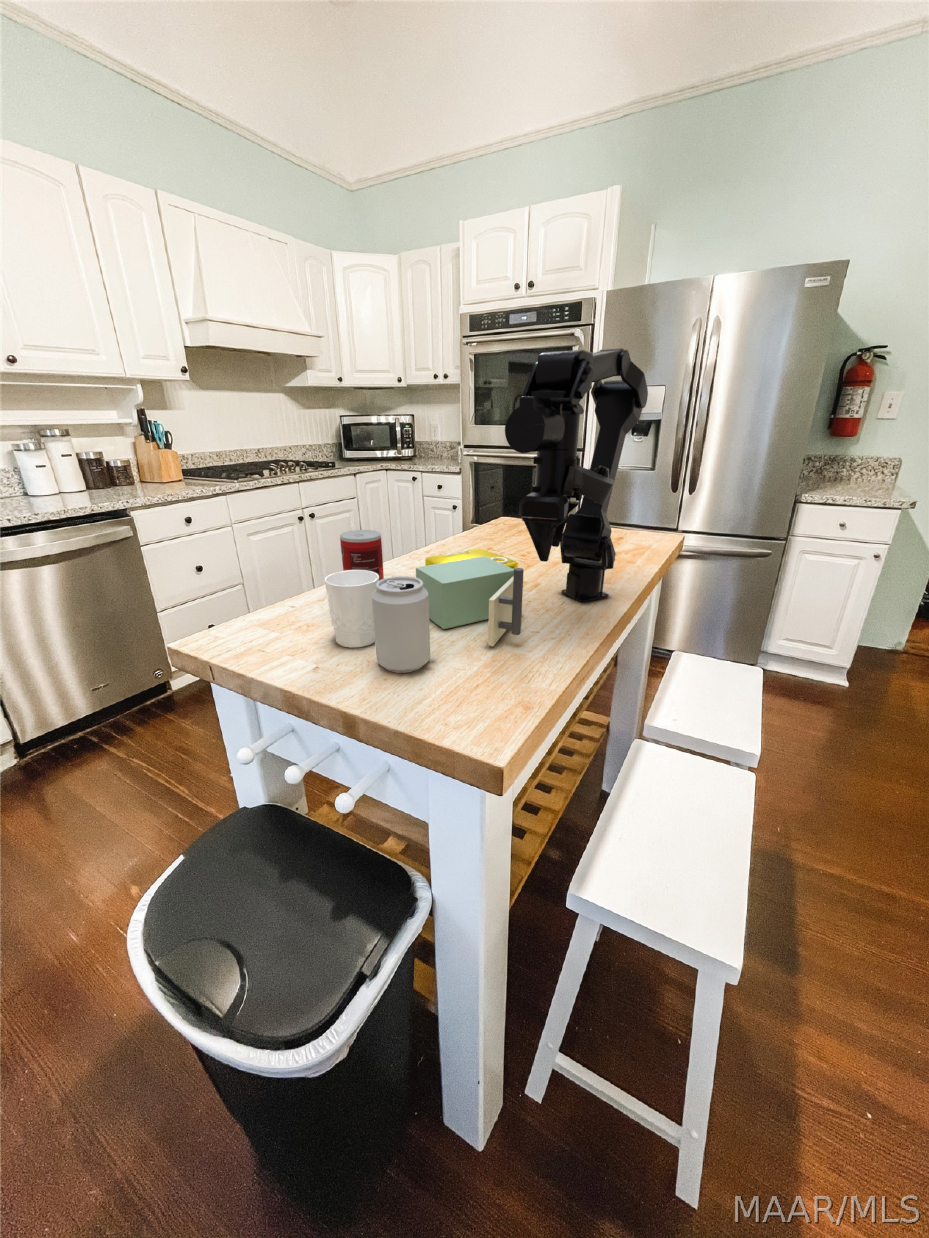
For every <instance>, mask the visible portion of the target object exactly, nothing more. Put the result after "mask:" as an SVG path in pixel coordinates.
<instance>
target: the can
mask: <svg viewBox="0 0 929 1238" xmlns="http://www.w3.org/2000/svg"><path fill="white" fill-rule="evenodd" d="M376 588H377V589H376V590H375V591H374V592H373V594H372V606H373V619H374V632H375V642H374V643H375V656H376V661H377V664H378V665H380V666H381V667H382V668H384V669H385V670H387V671H389V672H392V673H397V674H400V673H401V674H406V673H412V672H415V671H418V670H420V669H421V668H423V667H424V666H425V665H426V664H427V663H428V662H429V661H430V660H431V636H430V635H431V633H430V632H431V631H430V619H429V596H428V592H427V590H426V589H425V588H424V587H423V582H422V580H420V579H418V578H416V576H408V575H397V576H389V577H384V579H382V580H380V581H378V582H377V583H376Z"/></svg>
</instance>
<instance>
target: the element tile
mask: <svg viewBox="0 0 929 1238" xmlns="http://www.w3.org/2000/svg"><path fill="white" fill-rule="evenodd" d="M483 556H485V557H488V558H490V559H492V560H494V561H497V562H499V563H501V564H503V565H506V566H508V567H510V568H513V569H514V568H519V562H518V561H517V560H514V559H512V558H508V557H505V556H503V555H500V554H497V553H496V552H495V553H494V552H492V551H489V550H486V549H484V548H481V547H476V548H471V549H470V548H469V549H466V550H465V549H464V550H459V551H453V552H452V551H451V552H447V553H443V554H437V555H430V556H427V557H426V558H425V559H424V566H428V565H434V564H440V563H446V562H453V561H459V560H465V559H471V558H477V557H483Z"/></svg>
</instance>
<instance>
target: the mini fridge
mask: <svg viewBox="0 0 929 1238" xmlns="http://www.w3.org/2000/svg"><path fill="white" fill-rule="evenodd" d="M513 576H514V569H513V568H510V567H508V566H506V565H503V564H501V563H499V562H497V561H494V560H492V559H490V558H488V557H485V556H483V557H477V558H471V559H465V560H459V561H453V562H446V563H440V564H434V565H428V566H425V565H424V566H422V565H421V566H416V567H415V578H418V579H420V580H422V582H423V587H424V588H425V589H426V590H427V592H428V596H429V620H431V621H432V622H433V623H434V624H436V625H437V626H439V627H440V628H441V629H442V630H447V629H451V628H456V627H461V626H465V625H468V624H474V623H477V622H482V621H486V620H489V599H490V598H491V597H492V596H493V595H494V594H495V593H496V592H497V591H498V590H499V589H500V588H501V587H502V586H503V585H504V584H505V583H507V582H508V581H509V580H510V579H511V578H512V577H513Z"/></svg>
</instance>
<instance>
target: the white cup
mask: <svg viewBox="0 0 929 1238" xmlns="http://www.w3.org/2000/svg"><path fill="white" fill-rule="evenodd" d="M378 581H379V575H378V574H377V573H375V572H372V571H367V570H346V571H343V570H341V571H336V572H333V573H331V574H329V575H327V576H326V577H325V578H324V585H325V590H326V598H327V602H328V610H329V615H330V619H331V625H332V627H333V630H334V638H335V643H336V644H338V646H339V645H340V647H343V648H344V647H345V648H351V649H352V648H364V647H367V646H371V645H373V644H374V643H375V632H374V619H373V606H372V594H373V592H374V591H375V590H376V589H377V588H376V583H377V582H378Z"/></svg>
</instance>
